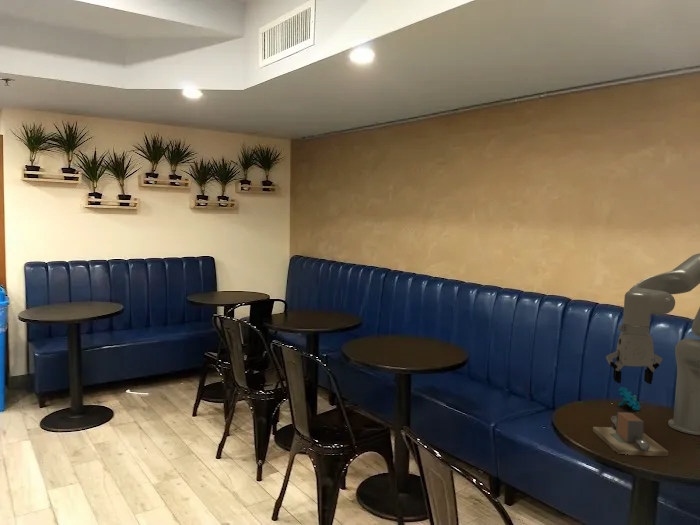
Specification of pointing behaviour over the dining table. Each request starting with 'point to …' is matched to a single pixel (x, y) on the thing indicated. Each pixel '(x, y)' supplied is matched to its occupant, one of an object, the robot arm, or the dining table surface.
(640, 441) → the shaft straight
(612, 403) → the dining table surface
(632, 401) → the gear
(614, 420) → the shaft angled
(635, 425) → the orange and grey block
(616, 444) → the base
